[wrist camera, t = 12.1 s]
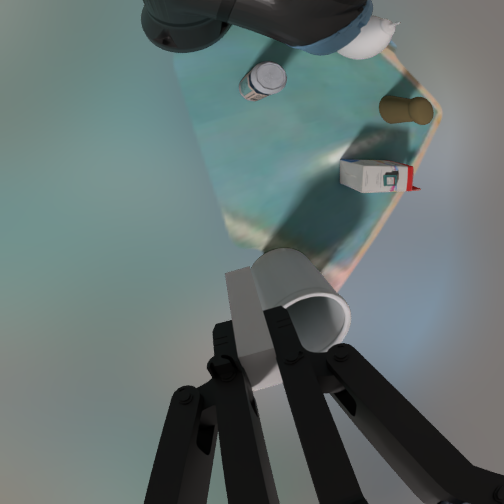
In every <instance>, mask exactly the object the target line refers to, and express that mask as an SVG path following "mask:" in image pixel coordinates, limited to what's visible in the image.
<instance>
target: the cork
mask: <svg viewBox="0 0 504 504" xmlns="http://www.w3.org/2000/svg"><path fill="white" fill-rule="evenodd" d="M379 111H380V114H381V117H382V118H383V119H384V120H385V121H386V122H387V123H390V124H393V123H402V122H412V121H414V122H415V123H417V124H420V125H425V124H428V123H430V121H431V120H432V118H433V108H432V105H431V103H430V102H429V101H428V100H427V99H425V98H423V97H415V98H413V99H407V98H402V97H396V96H385V97H383V98H382V99H381V101H380V103H379Z"/></svg>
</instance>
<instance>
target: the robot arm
mask: <svg viewBox="0 0 504 504" xmlns="http://www.w3.org/2000/svg"><path fill="white" fill-rule="evenodd" d="M143 2H144V4H145V5H144V8H143V10H142V15H141V23H142V27H143V30H144V32H145V34H146V36H147V37H148V39H149V40H150V41H151V42H152V43H153V44H155V45H156V46H157V47H159V48H161V49H163V50H166V51H170V52H176V53H188V52H195V51H199V50H202V49H205V48H207V47H209V46H211V45H213V44H214V43H216V42H217V41H219V40H220V39H221V38H222V37H223V36H224V35H225V34H226V32H227V31H228V29H229V27H230V25H231V24H233V25H236V26H239V27H242V28H245V29H248V30H251V31H254V32H257V33H259V34H262V35H265V36H267V37H270V38H272V39H275V40H277V41H280V42H282V43H285V44H286V45H287V46H289V47H292V48H296V49H301V50H303V51H306V52H308V53H310V54H313V55H320V56H321V55H328V54H332V53H334V52H337V51H338V50H340V49H342V48H344V47H345V46H346V45H348V44H349V43H350V42H352V41H353V40H354V39H355V38H356V37H357V36H358V35H359V34H360V32H361V28H362V27H363V26H366V25H367V23H368V21H369V20H370V18H371V15H372V12H373V4H372V1H371V0H143ZM225 276H226V284H227V290H228V297H229V303H230V310H231V316H232V320H230V321H226V322H222V323H218V324H216V325H215V327H214V329H213V345H214V357H212V358H211V359H210V360H209V362H208V363H207V369H208V371H209V373H210V374H211V376H212V379H211V380H210V381H208V382H207V383H205V384H203V385H202V386H200V387H198V388H195V387H193V386H189V385H188V386H183V387H180V388H178V389H177V391H175V392H174V394H173V396H172V399H171V403H170V406H169V409H168V413H167V416H166V420H165V423H164V427H163V431H162V434H161V438H160V442H159V445H158V449H157V453H156V457H155V461H154V464H153V468H152V472H151V476H150V480H149V484H148V488H147V493H146V496H145V501H144V504H206V503H207V497H208V491H209V484H210V478H211V472H212V466H213V459H214V453H215V447H216V440H217V434H218V432H219V440H220V448H221V456H222V464H223V470H224V478H225V485H226V491H227V498H228V504H279V499H278V495H277V491H276V487H275V483H274V479H273V474H272V470H271V466H270V462H269V457H268V453H267V449H266V445H265V440H264V436H263V432H262V428H261V422H260V418H259V413H258V409H257V404H256V400H255V398H254V396H253V391H255V390H259V389H263V388H267V387H271V386H274V385H277V384H281V383H283V385H284V388H285V391H286V394H287V398H288V402H289V405H290V408H291V412H292V415H293V418H294V421H295V425H296V428H297V432H298V435H299V438H300V442H301V445H302V448H303V451H304V455H305V458H306V461H307V465H308V468H309V471H310V474H311V478H312V481H313V484H314V487H315V491H316V494H317V497H318V500H319V504H368V502H367V501H366V499H365V498H364V496H363V494H362V492H361V489H360V487H359V484H358V481H357V479H356V476H355V474H354V471H353V468H352V466H351V463H350V461H349V458H348V455H347V453H346V450H345V448H344V445H343V443H342V440H341V438H340V435H339V433H338V430H337V427H336V425H335V422H334V420H333V417H332V415H331V412H330V410H329V407H328V405H327V402H326V400H325V397H324V395H323V393H330V395H331V396H332V397H333V398H334V399H335V401H336V402H337V403H338V404H339V406H340V407H341V408H342V409H343V410H344V412H345V413H346V414H347V415H348V417H349V418H350V419H351V420H352V421H353V422H354V424H355V425H356V426H357V427H358V429H359V430H360V431H361V432H362V433H363V435H364V436H365V437H366V438H367V439H368V441H369V442H370V443H371V444H372V445H373V446H374V448H375V449H376V450H377V451H378V452H379V453H380V455H381V456H382V457H383V458H384V459H385V460H386V462H387V463H388V464H389V465H390V466H391V467H392V469H393V470H394V471H395V472H396V473H397V474H398V476H399V477H400V478H401V479H402V480H403V481H404V482H405V483H406V485H407V486H408V487H409V488H410V489H411V490H412V491H413V493H414V494H415V495H416V496H417V497H418V498H419V499H420V500H421V501H422V502H423V503H425V504H504V475H501V474H497V473H494V472H490V471H488V470H484V469H482V468H479V467H476V466H473V465H472V464H471V463H470V462H469V461H468V460H467V459H466V458H465V457H464V456H463V455H462V454H461V453H460V452H459V451H458V450H457V449H456V448H455V447H454V446H453V445H452V444H451V443H450V442H449V441H448V440H447V439H446V438H445V437H444V436H443V435H442V434H441V433H440V432H439V431H438V430H437V429H436V428H435V427H434V426H433V425H432V424H431V423H430V422H429V421H428V420H427V419H426V418H425V417H424V416H423V415H422V414H421V413H420V412H419V411H418V410H417V409H416V408H415V407H414V406H413V405H412V404H411V403H410V402H409V401H407V399H405V397H404V396H403V395H402V394H400V392H399V391H398V390H397V389H396V388H394V387H393V386H392V385H391V384H390V383H389V382H388V381H387V380H386V379H385V378H384V377H383V376H382V375H381V374H380V373H379V372H378V371H377V370H376V369H375V368H374V367H373V366H372V365H371V364H370V363H369V362H368V361H367V360H366V359H365V358H364V357H363V356H362V355H361V354H360V353H359V352H358V351H357V350H356V349H355V348H354V347H352V346H351V345H349V344H345V343H340V344H336V345H333V346H332V347H331V348H329V349H328V351H327V352H311V351H308V350H306V349H305V348H304V347H303V346H302V344H301V342H300V340H299V337H298V335H297V332H296V330H295V327H294V325H293V323H292V320H291V318H290V315H289V313H288V310H286V309H285V308H284V307H283V306H277V307H274V308H270V309H267V310H264V311H263V310H262V307H261V303H260V300H259V297H258V293H257V290H256V286H255V283H254V280H253V276H252V273H251V270H250V267H245V268H242V269H238V270H235V271H231V272H228V273H225ZM252 390H253V391H252Z"/></svg>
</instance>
